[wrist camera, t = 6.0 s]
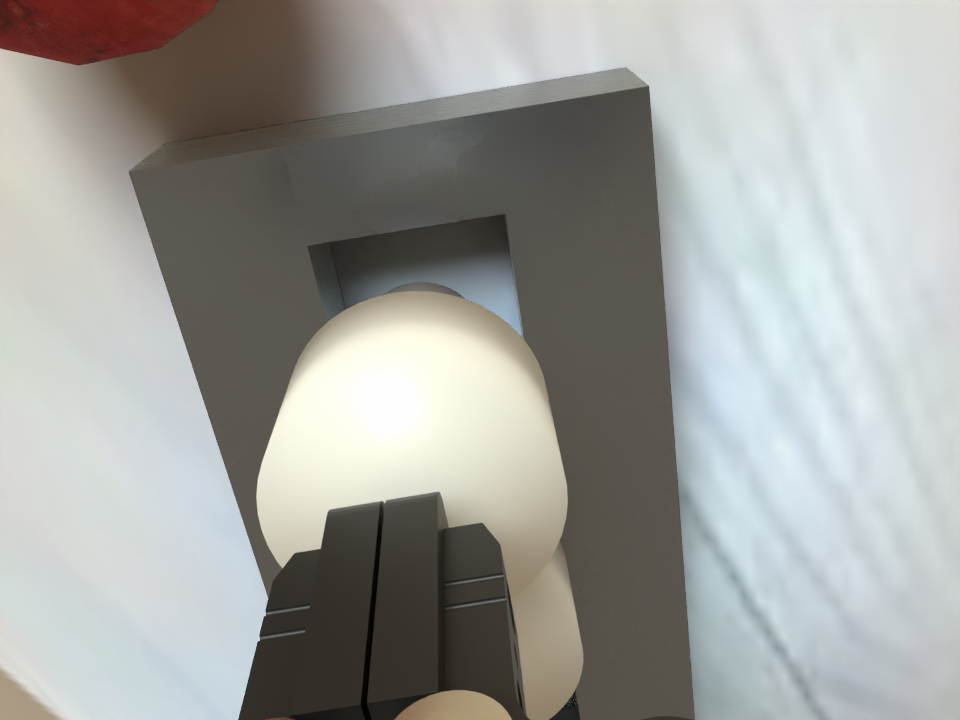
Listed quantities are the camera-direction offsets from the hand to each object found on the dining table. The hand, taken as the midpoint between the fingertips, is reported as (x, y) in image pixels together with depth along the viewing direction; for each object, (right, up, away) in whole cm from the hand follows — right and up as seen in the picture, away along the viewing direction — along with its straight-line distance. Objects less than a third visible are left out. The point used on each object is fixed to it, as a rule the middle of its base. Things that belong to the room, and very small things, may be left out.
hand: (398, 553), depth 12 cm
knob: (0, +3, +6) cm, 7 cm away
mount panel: (+1, -1, +11) cm, 11 cm away
